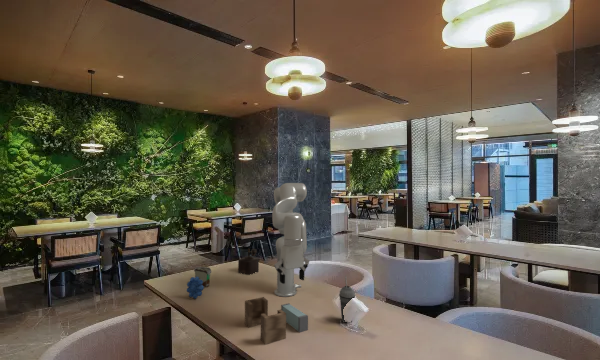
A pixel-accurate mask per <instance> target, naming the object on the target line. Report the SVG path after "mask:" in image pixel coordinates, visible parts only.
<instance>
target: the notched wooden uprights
mask: <svg viewBox="0 0 600 360" xmlns="http://www.w3.org/2000/svg"><path fill="white" fill-rule="evenodd" d="M268 304H269V300H268V299H267V298H265V296H261V297H258V298H257V297H256V298H252V299H247V300H244V324H245V325H246V327H247V328H252V327H256V326H260V340H261V342H262V343H263V344H264V345H270V344H273V343H275V342H279V341H282V340H286V339H287V322H286V313H285V312H283V311H282V310H281V309H278V310H277V313H275V314H271V315H270V314H269V313H268V312H269V311H268V310H269V308H268V306H269V305H268ZM268 314H269V315H268Z"/></svg>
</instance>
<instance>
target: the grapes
mask: <svg viewBox="0 0 600 360" xmlns="http://www.w3.org/2000/svg"><path fill="white" fill-rule="evenodd" d="M202 283H203V281H202V280H199V277H195V276H193V277H190V279H189V281H187V283H186V286H187V288H186V292H187V293H188V296H189V297H190V298H193V299H194V300H196V299H197V298H198V297H200V296H202V294H203V290H204V289H205V287H204V286H203V285H202Z"/></svg>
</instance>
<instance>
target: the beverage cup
mask: <svg viewBox="0 0 600 360" xmlns="http://www.w3.org/2000/svg"><path fill="white" fill-rule="evenodd" d="M344 279H345V281H344V282H345V286H342V288H341V289H340V290H339V294H338V296H339V303H340V313H341V314H340V316H341V322H342V321H344V322H345V320H344V315H343V309H344V307H345V306H346V304H347V303H348V302H349V301H350V300H351V299H352V298H356V293H355V290H354V288H353V287H351V286H350V285H349V286H348V282H347V275H345V276H344ZM344 322H343V323H344Z"/></svg>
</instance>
